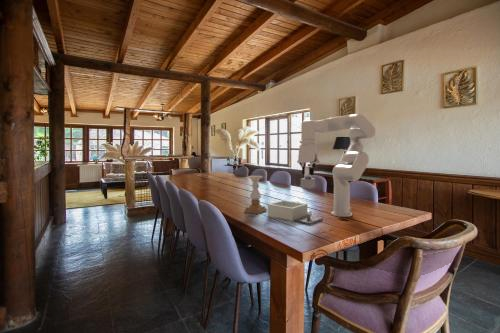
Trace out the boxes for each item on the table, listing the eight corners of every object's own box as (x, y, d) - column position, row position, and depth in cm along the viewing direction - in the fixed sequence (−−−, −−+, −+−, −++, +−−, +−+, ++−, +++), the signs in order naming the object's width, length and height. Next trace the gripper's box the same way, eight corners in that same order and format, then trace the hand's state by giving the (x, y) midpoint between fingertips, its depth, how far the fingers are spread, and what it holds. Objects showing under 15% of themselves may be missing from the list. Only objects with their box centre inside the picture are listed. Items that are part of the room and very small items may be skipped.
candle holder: (253, 209, 191) (253, 175, 189) (266, 211, 185) (266, 175, 183) (244, 212, 182) (243, 176, 180) (257, 214, 176) (257, 177, 174)
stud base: (307, 217, 167) (307, 207, 167) (322, 220, 160) (322, 209, 160) (294, 222, 157) (294, 211, 157) (309, 225, 150) (309, 214, 150)
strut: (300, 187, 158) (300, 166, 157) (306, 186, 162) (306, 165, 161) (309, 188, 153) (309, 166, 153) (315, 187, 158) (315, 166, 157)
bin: (283, 212, 181) (283, 200, 180) (307, 216, 168) (307, 204, 168) (268, 216, 169) (267, 204, 169) (292, 222, 157) (292, 208, 156)
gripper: (292, 142, 159) (291, 174, 160) (318, 142, 148) (317, 176, 149) (299, 142, 164) (299, 173, 166) (324, 142, 153) (324, 175, 154)
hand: (307, 174), depth 157 cm, fingers closed on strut, 4 cm apart
